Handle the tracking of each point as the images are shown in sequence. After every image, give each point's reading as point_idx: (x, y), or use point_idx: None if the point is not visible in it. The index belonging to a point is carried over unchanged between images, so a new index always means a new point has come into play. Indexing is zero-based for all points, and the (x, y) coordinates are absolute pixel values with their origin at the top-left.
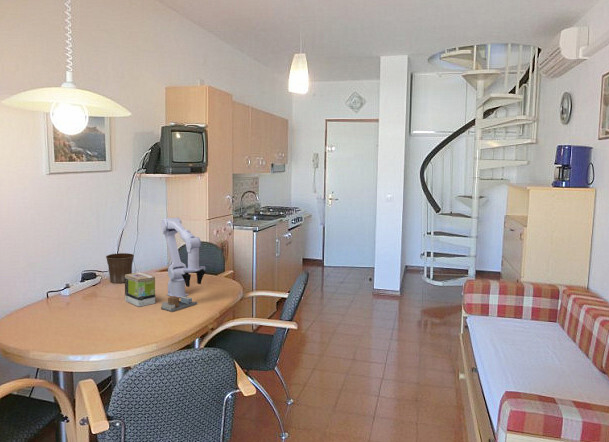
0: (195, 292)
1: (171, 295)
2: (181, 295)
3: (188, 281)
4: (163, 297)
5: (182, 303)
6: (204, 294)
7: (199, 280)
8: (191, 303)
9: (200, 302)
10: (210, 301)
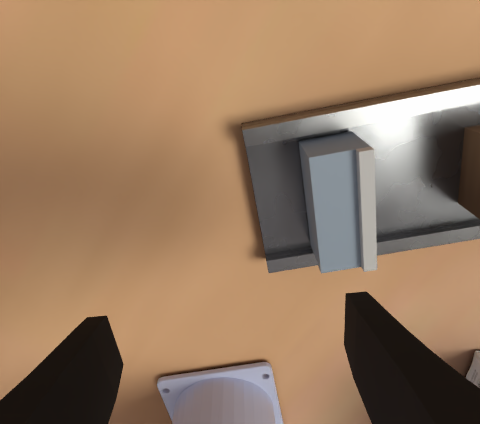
0: None
1: (279, 416)
2: (226, 380)
3: (442, 363)
4: (331, 418)
5: None
6: (34, 326)
7: (83, 383)
8: (328, 113)
9: (180, 153)
10: (71, 113)
